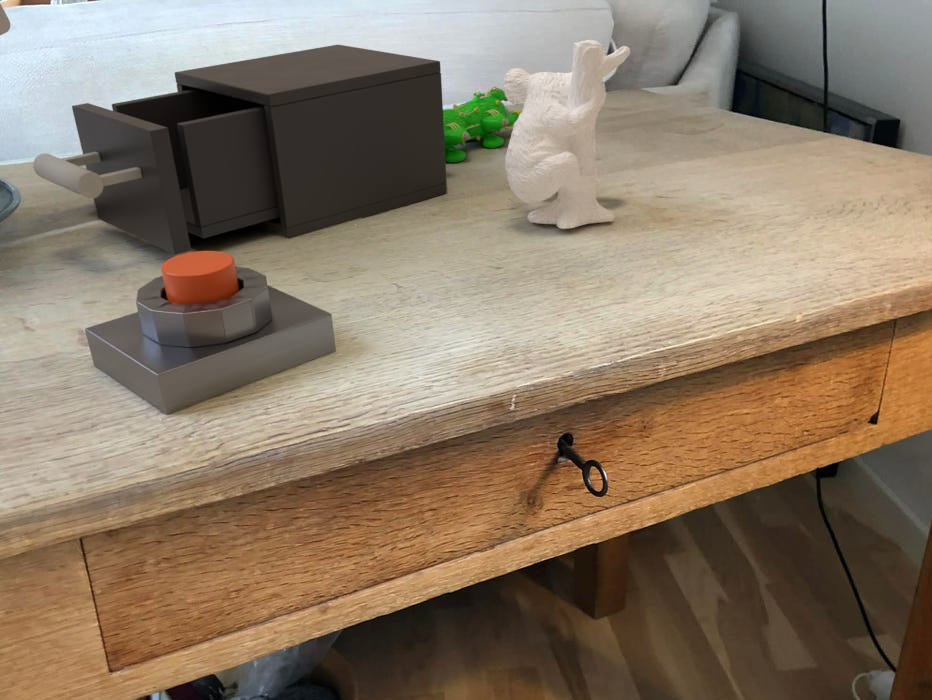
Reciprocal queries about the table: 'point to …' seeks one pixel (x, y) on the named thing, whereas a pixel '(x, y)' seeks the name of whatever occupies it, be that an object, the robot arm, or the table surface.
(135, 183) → the drawer
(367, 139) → the storage box
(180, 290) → the button
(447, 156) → the crocodile figurine
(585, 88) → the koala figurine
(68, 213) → the table surface
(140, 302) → the button block
